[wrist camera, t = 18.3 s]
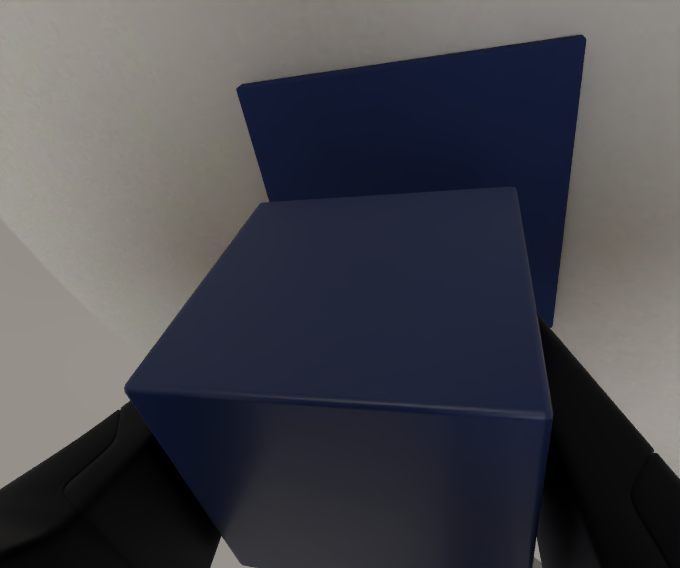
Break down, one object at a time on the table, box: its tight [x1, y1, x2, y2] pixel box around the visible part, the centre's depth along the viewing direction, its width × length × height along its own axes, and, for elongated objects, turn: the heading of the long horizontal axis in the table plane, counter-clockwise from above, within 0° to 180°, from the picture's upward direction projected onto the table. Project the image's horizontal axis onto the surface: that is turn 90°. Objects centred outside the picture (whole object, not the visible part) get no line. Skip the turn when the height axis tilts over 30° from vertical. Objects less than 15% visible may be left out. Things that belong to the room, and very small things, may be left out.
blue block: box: [124, 187, 553, 568], centre depth 8 cm, size 5×5×5 cm
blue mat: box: [236, 35, 586, 328], centre depth 13 cm, size 8×8×1 cm
